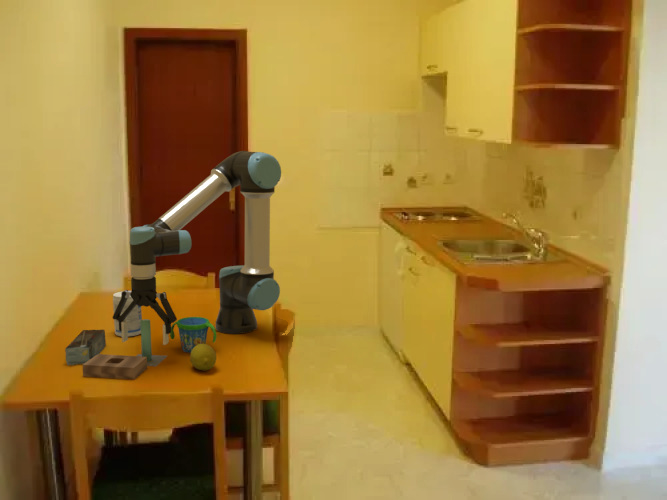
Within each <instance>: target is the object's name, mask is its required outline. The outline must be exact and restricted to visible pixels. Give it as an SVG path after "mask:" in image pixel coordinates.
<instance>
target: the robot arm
mask: <svg viewBox="0 0 667 500" xmlns="http://www.w3.org/2000/svg"><path fill="white" fill-rule="evenodd" d="M281 177H282V169H281V165H280V162H279V160H278V159H277V158H276V157H275V156H273V155H272V154H269V153H267V152H261V151H247V150H242V151H241V150H240V151H238V152H234V153H232V154H231V155H229V156H227V157H226V158H224V159H223V160H222V161H221V162H220V163H218V164H217V165H216V166H215V167H214V168H212V169H211V171H210V175H209V176H207V177H206V178H205V179H204V180H203V181H201V182H200V183H199V184H198V185H196V187H194V188H193V189H192V190H191V191H189V193H187V194H186V195H185V196H184V197H182V198H181V199H179V201H178V202H176V203H175V204H174V205H173V206H172V207H170V208H169V209H168V210H167V211H166V212H165V213H164V214H162V215H161V216H159V218H158V219H156V220H155V221H154V222H153V223H150V224H144V225H143V226H135V227H132V228H131V229H130V232H129V250H130V252H129V253H130V276H131V278H130V284H131V285H130V288H131V290H128V289H125V290H123V292H122V291H121V292H122V295H121V300H120V302H119V304H118V306H117V308H116V311H115V313H114V312H113V315H112V319H113V320H114V319H116V320H118V321H119V331H122V337H121V342H122V343H126V341H128V340H129V337H128V328H127V320H124V319H125V318H126V317H127V316H128V314H129V313H130V312H131V311H132V310H133V308H134V307H135V306H136V305H138V306H141V307H150V308H151V309H152V310H153V311H154V312H155V313H156V314H157V316H158V317H159V318H160V320H162V321H163V324H162V345H163V346H166V345H167V344H168V343H169V340H170V339H169V335H170V333H171V327H172V324H174V323H175V322H177V321H178V320H177V319H178V318H177V316H176V313H175V311H174V310H173V308H172V306H171V304H170V302H169V300H168V297H167V292H165V291H163V292H157V278H156V275H157V273H156V272H157V271H156V270H157V268H156V267H157V265H156V262H157V261H156V257H164V256H174V255H182V254H187V253H189V252H190V250H191V248H192V238H191V234H190V232H189V231H188V230H185V229H184V230H183V228H184V227H185V226H187V225H188V223H190V222H191V221H192V220H193V219H195V218H196V217H198V215H199V214H200V213H201V212H203V211H204V210H205V209H206V208H208V206H209V205H211V204H212V203H213V202H214V201H216V200H217V199H218V198H219V197H220V196H221V195H223V194H224V193H225V192H228V193H229V192H230V191H232V190H233V189H234V188H236V187H238V186H239V187H240V194H242V195H243V197H244V265H243V264H242V265H233V266H232V265H230V266H225V267H223V268H221V269H220V270H219V275H218V281H219V309H218V313H217V317H216V321H215V330H216V332H218V333H219V332H220V333H223V334H232V335H237V334H245V333H246V332H247V333H250V331H251V332H253V330H254V331H255V330H257V329H258V321H257V318H256V314H255V312H254V310H257V311H266V310H269V309H271V308H272V307H274V305H275V304H276V303H277V302H278V300H279V297H280V293H281V288H280V285H279V283H278V282H277V280H276V279H274V277H275V276H274V275H275V273H274V272H275V270H274V269H273V268H272V266H271V265H270V260H271V259H270V253H271V252H270V249H271V248H270V247H271V246H270V242H271V240H270V239H271V236H270V235H271V234H270V233H271V231H270V229H271V196H273V195H274V194H275V189H276V188H275V187H276V186H277V185H278V184H279V182H280V180H281ZM130 291H131V292H130ZM130 296H131V297H132V299H133V301H132V303H131V304H130V305H129V307H128V308H127V309H126V310H125V311H124V313H123V314H122V315H121V316H120V314H121V312H122V310H123V307H124V305H125V303H126V301H127V299H128V298H129V297H130ZM157 298H158V300H159V301H160V303H161V305H162V306H161V305H160V304H159V302H158V300H157Z"/></svg>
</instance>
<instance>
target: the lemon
mask: <svg viewBox="0 0 667 500" xmlns="http://www.w3.org/2000/svg"><path fill="white" fill-rule="evenodd" d="M189 354H190V356H189V357H190V359H189V360H190V363H191V365H192V366H193V367H194V368H195V369H196V370H199V371H203V372H207V371H210V370H212V369H213V368H214V366H215V364H216V361H217V354H216V351H215V350H214V348H213V347H212V346H211V345H209V344H207V343H206V344H199V345H197V346H195V347H194V348H193V349H192V351H191V353H189Z"/></svg>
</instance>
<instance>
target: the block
mask: <svg viewBox="0 0 667 500" xmlns="http://www.w3.org/2000/svg"><path fill="white" fill-rule="evenodd" d="M147 369H148V366H147V357H140V356H137V355H120V354H103V353H99V354H97V355H96V356H94V357H93V358H91V359H90V360H89V361H87V362H86V363H84V364H82V377H86V378H103V379H117V380H118V379H119V380H133V381H134V380H136V378H138V377H140V376H141V374H143V373H144V371H146V370H147Z"/></svg>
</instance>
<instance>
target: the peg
mask: <svg viewBox="0 0 667 500" xmlns="http://www.w3.org/2000/svg"><path fill="white" fill-rule="evenodd" d="M140 323H141V333H140V342H141V343H140V344H141V354H142V357H147V362H148V361H151V360H152V355H153V354H152V353H153V351H152V333H151V332H152V330H151V319H148V318H147V319H145V318H144V319H142V320H141V321H140Z"/></svg>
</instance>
